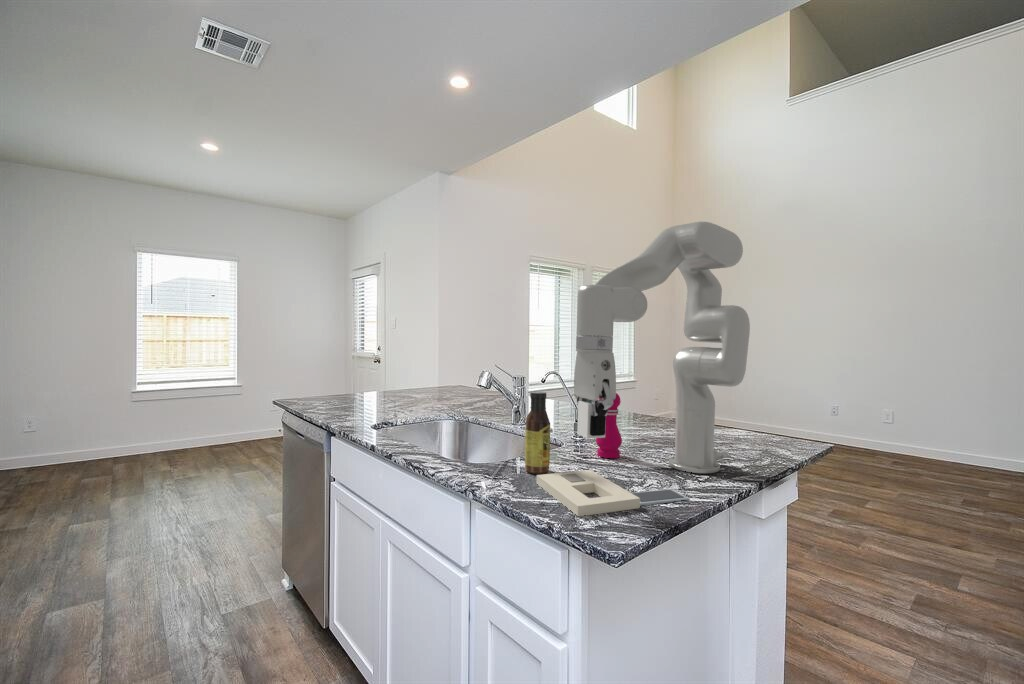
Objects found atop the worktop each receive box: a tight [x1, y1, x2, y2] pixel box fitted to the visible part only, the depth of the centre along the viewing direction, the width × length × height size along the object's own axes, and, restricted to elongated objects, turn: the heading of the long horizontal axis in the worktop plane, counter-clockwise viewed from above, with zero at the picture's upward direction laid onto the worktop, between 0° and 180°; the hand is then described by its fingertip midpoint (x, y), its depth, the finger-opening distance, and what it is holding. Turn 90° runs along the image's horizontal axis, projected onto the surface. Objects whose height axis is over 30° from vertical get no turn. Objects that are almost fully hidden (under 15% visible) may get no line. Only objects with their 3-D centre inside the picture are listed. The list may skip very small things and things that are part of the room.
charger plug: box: [576, 400, 606, 439], centre depth 97 cm, size 4×4×7 cm
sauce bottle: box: [524, 391, 551, 475], centre depth 117 cm, size 6×6×20 cm
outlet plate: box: [536, 469, 641, 517], centre depth 101 cm, size 14×20×2 cm
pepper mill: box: [595, 392, 623, 459], centre depth 133 cm, size 7×7×20 cm
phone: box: [631, 488, 690, 507], centre depth 100 cm, size 12×6×1 cm, turn 107°
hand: (591, 431), depth 97 cm, fingers closed on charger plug, 4 cm apart
